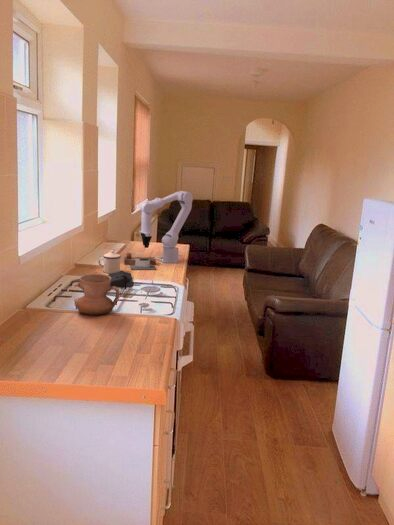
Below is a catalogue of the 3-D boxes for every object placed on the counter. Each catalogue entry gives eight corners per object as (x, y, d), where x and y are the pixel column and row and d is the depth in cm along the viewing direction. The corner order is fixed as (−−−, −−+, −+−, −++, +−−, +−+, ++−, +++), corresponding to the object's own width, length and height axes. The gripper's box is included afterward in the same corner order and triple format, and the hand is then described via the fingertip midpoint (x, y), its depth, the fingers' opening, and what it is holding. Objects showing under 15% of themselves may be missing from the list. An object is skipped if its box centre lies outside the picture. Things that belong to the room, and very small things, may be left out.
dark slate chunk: (135, 277, 236) (135, 268, 235) (131, 289, 215) (132, 279, 214) (106, 276, 235) (106, 267, 234) (99, 287, 214) (99, 278, 213)
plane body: (154, 262, 271) (154, 252, 270) (155, 265, 264) (156, 255, 262) (123, 261, 268) (124, 251, 266) (124, 264, 260) (124, 254, 259)
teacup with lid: (122, 270, 247) (122, 249, 244) (118, 274, 238) (118, 252, 235) (100, 268, 248) (100, 248, 245) (95, 272, 239) (96, 251, 236)
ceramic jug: (67, 316, 172) (68, 280, 169) (79, 304, 187) (80, 271, 183) (114, 320, 172) (115, 284, 169) (122, 308, 186) (123, 275, 183)
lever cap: (149, 265, 259) (149, 257, 258) (149, 267, 254) (149, 259, 253) (134, 265, 257) (135, 257, 256) (135, 267, 253) (135, 259, 252)
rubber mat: (154, 266, 261) (154, 265, 260) (156, 270, 252) (156, 269, 252) (130, 266, 258) (130, 265, 258) (131, 269, 249) (131, 268, 249)
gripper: (138, 221, 268) (137, 244, 271) (140, 225, 255) (140, 248, 258) (150, 221, 270) (149, 244, 273) (153, 225, 256) (152, 248, 259)
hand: (145, 246), depth 265 cm, fingers open, 7 cm apart
